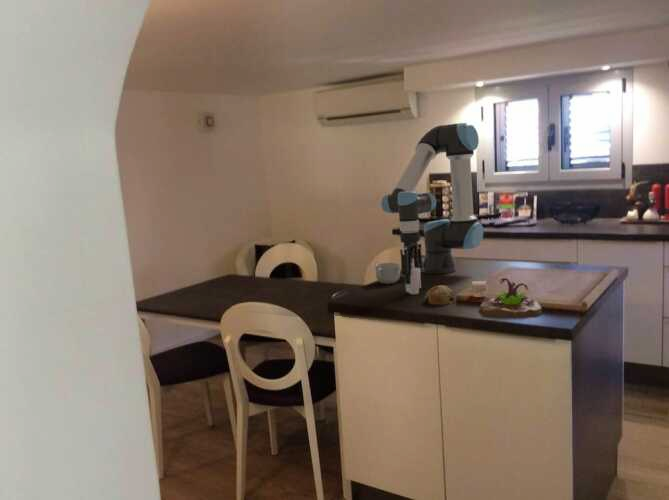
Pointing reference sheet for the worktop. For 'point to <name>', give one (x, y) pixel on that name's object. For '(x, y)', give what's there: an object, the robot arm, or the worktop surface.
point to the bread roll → (439, 295)
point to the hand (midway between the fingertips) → (413, 289)
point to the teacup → (387, 272)
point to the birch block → (479, 286)
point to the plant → (511, 303)
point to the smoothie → (415, 278)
